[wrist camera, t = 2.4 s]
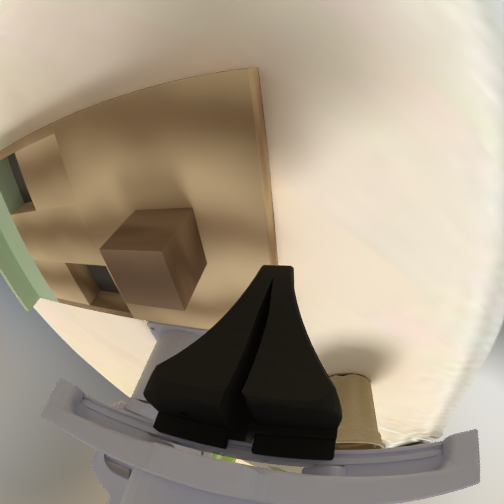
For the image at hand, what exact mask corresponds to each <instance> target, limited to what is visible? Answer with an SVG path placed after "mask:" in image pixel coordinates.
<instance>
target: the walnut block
mask: <svg viewBox="0 0 504 504" xmlns="http://www.w3.org/2000/svg"><path fill="white" fill-rule="evenodd" d="M99 250H100V253H101V255H102V257H103V259H104V261H105V263H106V265H107V267H108V269H109V271H110V273H111V275H112V277H113V279H114V281H115V283H116V285H117V286H118V288H119V290H120V292H121V294H122V296H123V298H124V299H125V301H126V303H129V304H136V305H143V306H150V307H157V308H165V309H172V310H181V311H185V310H186V308H187V305H188V303H189V301H190V299H191V297H192V295H193V293H194V290H195V288H196V286H197V284H198V282H199V280H200V278H201V276H202V274H203V271H204V269H205V267H206V265H207V261H206V257H205V253H204V249H203V246H202V242H201V238H200V234H199V230H198V226H197V222H196V218H195V214H194V210H193V208H169V209H149V210H135V211H134V212H133V213H132V214H131V215H130V216H129V217H128V218H127V219H126V220H125V221H124V222H123V224H122V225H121V226H120V227H119V228H118V229H117V230H116V231H115V232H114V233H113V234H112V235H111V237H110V238H109V239H108V240H107V241H106V242H105V243H104V244H103V245H102V247H101V248H100V249H99Z"/></svg>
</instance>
